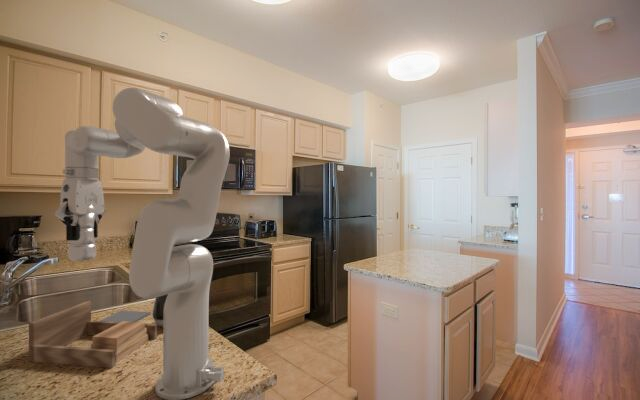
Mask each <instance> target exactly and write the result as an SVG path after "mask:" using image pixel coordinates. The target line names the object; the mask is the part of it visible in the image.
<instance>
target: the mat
mask: <svg viewBox="0 0 640 400" xmlns="http://www.w3.org/2000/svg"><path fill="white" fill-rule="evenodd" d="M151 314H152V312H150V311H139V310H138V311H135V310H119V311H117V312H115V313H112V314H110V315H108V316H107V317H105V318H102V319H100V320H99V321H108V322H122V321H131V322H139V321H140V320H142V319H144V318H146V317H147V316H149V315H151Z"/></svg>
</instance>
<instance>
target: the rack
mask: <svg viewBox="0 0 640 400" xmlns="http://www.w3.org/2000/svg"><path fill="white" fill-rule="evenodd" d="M118 323H120V322H108V321H100V320H92V301H91V300H87V301H84V302H80V303H78V304H75V305H73V306H70V307H68V308H65V309H62V310H60V311H57V312H54V313H52V314H48V315H46V316H43V317H41V318H38V319H36V320H33V321H32V320H31V322H28V362H34V363H48V364H60V365H71V366H72V365H73V366H82V367H85V366H86V367H98V368H109V369H113V368H114V367H116V362H115V350H109V349H95V348H91V347H80V346H79V347H78V346H68V345H70V344H72V343H74V342H76V341H78V340H80V339H83V338H84V337H86V336H88V335H89V336H95V335H97V334H99V333H101V332H103V331H105V330H107V329H109V328H111V327H113V326H115V325H116V324H118ZM145 328H147V334H148V340H149V339H150V340H151V339H152V340H156V339H157V338H158V325H157V324H156V323H154V324H153V323H145Z"/></svg>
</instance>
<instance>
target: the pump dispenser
mask: <svg viewBox="0 0 640 400" xmlns="http://www.w3.org/2000/svg"><path fill="white" fill-rule="evenodd" d="M167 296H168V294H166V295H163V296H160V297H156V298H154V299H155V300H154V303H153V307H152V308H153V309H152V318H153V321H154V324H157V327H160V328H163V311H164V305H165V301H166V298H167Z"/></svg>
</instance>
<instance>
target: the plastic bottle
mask: <svg viewBox="0 0 640 400" xmlns="http://www.w3.org/2000/svg"><path fill="white" fill-rule="evenodd" d="M87 213H88V214H85V215H78V221H77V224H76V226H78V227H79V239H78V240H76V241H74V240H69V245H68V249H67V255H68V259H69V260H70V261H73V262H86V261H90V260H93V259H95V257H96V256H97V251H98V250H97V245H96V241H95V239H96V238H94V220H95V208H94V207H93V206H89V207H88V208H87ZM70 214H74V213H71V212H70ZM72 218H73V217H71V220H72Z"/></svg>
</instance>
